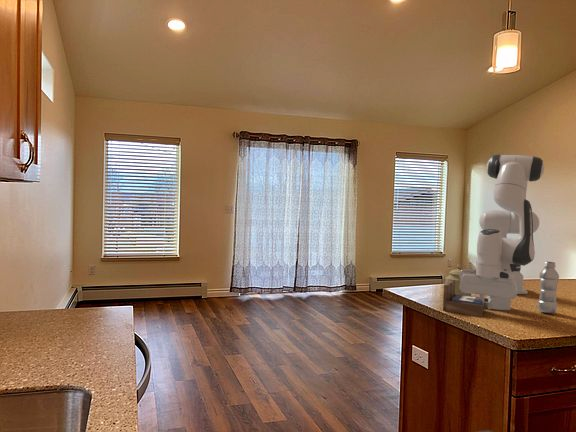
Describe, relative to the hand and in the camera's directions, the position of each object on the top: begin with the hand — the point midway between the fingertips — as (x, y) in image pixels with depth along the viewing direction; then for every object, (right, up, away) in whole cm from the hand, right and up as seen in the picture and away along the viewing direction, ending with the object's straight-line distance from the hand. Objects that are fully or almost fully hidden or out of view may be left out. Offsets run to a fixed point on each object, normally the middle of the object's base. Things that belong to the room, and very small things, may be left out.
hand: (486, 306), depth 171 cm
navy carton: (-6, -2, +3) cm, 7 cm away
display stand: (-6, -2, +4) cm, 7 cm away
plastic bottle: (+24, -3, +2) cm, 25 cm away
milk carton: (+8, -2, +8) cm, 12 cm away
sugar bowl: (+1, -1, +26) cm, 26 cm away
